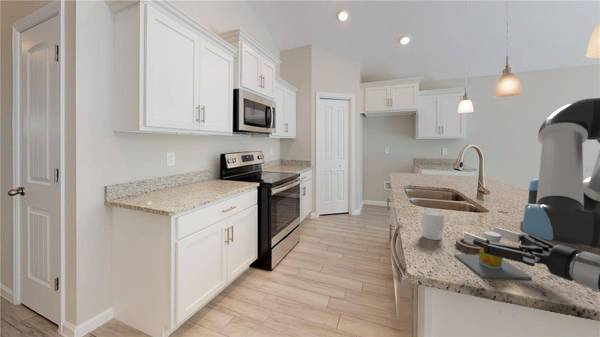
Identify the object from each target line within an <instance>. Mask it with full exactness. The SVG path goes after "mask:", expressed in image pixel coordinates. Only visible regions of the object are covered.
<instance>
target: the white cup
mask: <svg viewBox="0 0 600 337" xmlns="http://www.w3.org/2000/svg"><path fill="white" fill-rule="evenodd" d="M445 216H446V214H445V213H444V212H443V211H440V210H439V211H438V210H434V209H425V210H422V211H421V229H422V232H421V233H422V234H421V235H422V237H423V238H426V239H427V240H430V241H431V240H432V241H439V240H441V239H442V237H443V230H444V224H445V223H444V222H445Z"/></svg>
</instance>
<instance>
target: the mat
mask: <svg viewBox="0 0 600 337" xmlns="http://www.w3.org/2000/svg"><path fill="white" fill-rule="evenodd" d="M454 257H455V258H457V259H458V261H460V262H461V263H463V264H464V265H465V266H467V267H468V268H470V270H472V272H474V273H475V274H477V275H478V276H479V277H480V278H482V279H505V280H507V279H510V280H511V279H512V280H532V279H533V277H532V276H531V275H529V274H527V273H526V272H525V271H523V270H520V269H519V268H517V267H516V266H514V265H513V264H511V263H509V262H508V261H506V260H505V259H504V258H502V266H501V268H499V269H493V268H489V267H486V266H484V265H482V264H480V262H479V254H460V253H459V254H456V253H455V254H454Z"/></svg>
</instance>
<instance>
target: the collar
mask: <svg viewBox="0 0 600 337" xmlns="http://www.w3.org/2000/svg"><path fill="white" fill-rule="evenodd" d="M455 247H456V248H457V249H459V250H461V251H464V252H465V253H469V254H473V255H479V254H480V247H478V246H474V245H472V244H470V243H467V242H465V241H464V237H458V238H456V239H455Z"/></svg>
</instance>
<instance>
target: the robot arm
mask: <svg viewBox="0 0 600 337" xmlns="http://www.w3.org/2000/svg"><path fill="white" fill-rule="evenodd" d="M537 138H538V139H537V140H538V143H539V144H540V145H541V153H540V161H539V162H540V163H539V171H538V172H539V173H538V177H537V178H533V179H531V180H530V181H529V182H530V183H529V188H528V200H527V204H526V205H525V206H524V213H523V219H522V221H521V222H520V225H519V229H520V230H521V231H522V232H524V233H525V234H524V233H522V234H521V233H518V232H515V231H511V230H508V229H505V228H501V227H497V226H494V228H493V229H494V231H493V232H495V233H498V234H500V235H501V239H505V240H508V241H511V242H514V243H515V244H519V245H512V244H505V243H503V244H500V243H493V242H489V239H484V237H481V236H477V235H476V234H472V233H470V232H466V231H465V232H464V234H463V238H464V241H465V242H467V243H470V244H472V245H471V246H474V247H480V248H483V249H484V251H483V253H485V254H489V255H493V256H497V257H501V258H502V259H504V260H506V259H507V260H510V261H514V262H517V263H522V264H524V265H527V266H530V267H535V264H537V265H538V264H540V265H544V266H546V268H547V271H548V272H549V273H550V274H551V275H554V276H556V277H558V278H561V279H563V280H567V281H569V282H573V281H574V283H575V284H577V285H580V286H583V287H585V288H588V289H590V290H591V291H592V292H594V293H600V255H599V254H597V253H593V252H589V251H582V250H580V249H578V248H574V247H571V246H567V245H564V244H554V243H552V242H551V241H556V242H560V243H565V244H572V245H577V246H581V247H587V248H591V249H596V250H600V150H598V154H597V157H596V161H595V164H594V167H593V169H592V172H591V175H590V176H589V177H588V178H586V179H585V180H584V164H583V163H584V161H583V159H584V158H583V157H584V153H583V144H584V143H585V142H586V141H587V140H588V141H589V140H590V141H591V140H593V141H594V140H596V142H597V143H598V144H599V145H600V97H595V98H593V97H591V98H584V99H580V100H576V101H573V102H571V103H568V104H565V105H564V106H562V107H560V108H558V109H557V110H555V111H553V113H551V114H550V115H549V116H548V117H547V118H546V119H545V120H544V121H543V123H542V124H541V125H540V128H539V129H538V134H537ZM470 244H469V245H470Z"/></svg>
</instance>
